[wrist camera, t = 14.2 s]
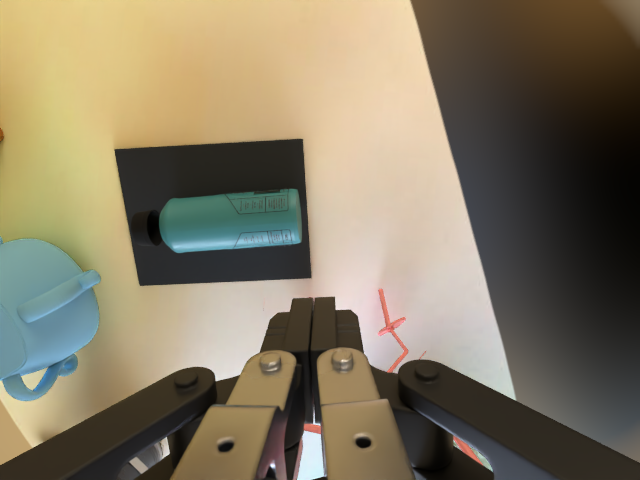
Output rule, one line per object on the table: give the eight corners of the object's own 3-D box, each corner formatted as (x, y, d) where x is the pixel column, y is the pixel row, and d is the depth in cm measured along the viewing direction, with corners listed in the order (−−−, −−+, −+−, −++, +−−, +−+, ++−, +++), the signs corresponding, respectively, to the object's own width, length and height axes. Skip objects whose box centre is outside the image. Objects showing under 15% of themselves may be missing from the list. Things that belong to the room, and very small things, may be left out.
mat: (141, 284, 49) (139, 285, 48) (116, 149, 44) (114, 149, 44) (311, 277, 48) (311, 278, 48) (302, 138, 44) (302, 138, 43)
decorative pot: (-28, 312, 50) (-154, 373, 37) (9, 208, 46) (-117, 236, 33) (87, 366, 52) (6, 443, 39) (131, 271, 48) (58, 321, 35)
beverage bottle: (308, 179, 39) (121, 192, 40) (312, 242, 39) (121, 255, 39) (312, 193, 46) (150, 205, 47) (315, 247, 45) (151, 258, 46)
